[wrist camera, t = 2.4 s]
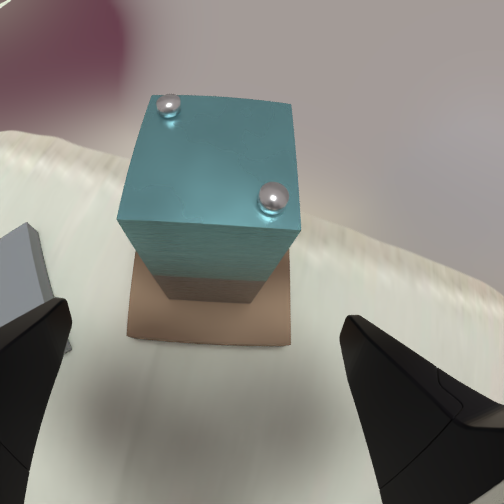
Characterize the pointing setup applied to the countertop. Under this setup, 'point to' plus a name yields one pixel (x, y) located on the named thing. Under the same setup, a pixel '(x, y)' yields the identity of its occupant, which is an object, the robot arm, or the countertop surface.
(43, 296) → the stand
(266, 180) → the block
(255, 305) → the stand
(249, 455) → the countertop surface
